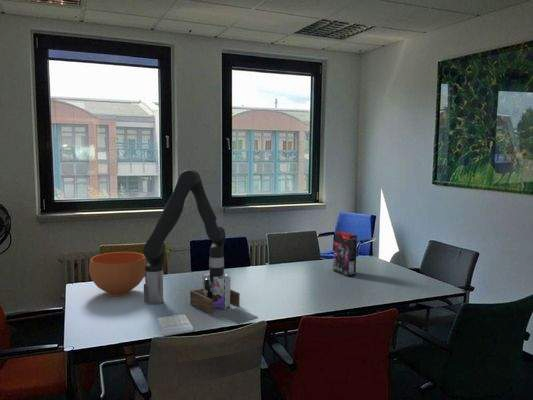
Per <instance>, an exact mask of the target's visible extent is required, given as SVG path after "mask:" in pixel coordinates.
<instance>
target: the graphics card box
mask: <svg viewBox="0 0 533 400" xmlns="http://www.w3.org/2000/svg"><path fill="white" fill-rule="evenodd" d="M333 238H334V239H333V240H334V241H333V242H334V243H333V266H332V267H333V268H332V271H333V272H336V273H338V274H341V275H343V276H345V277H353V276H356V271H357V267H356V266H357V249H358V248H357V246H358V245H357V244H358V235H357V234H353V233H349V232H345V231H335V232H334V237H333Z"/></svg>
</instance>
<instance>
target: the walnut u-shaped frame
mask: <svg viewBox="0 0 533 400" xmlns="http://www.w3.org/2000/svg"><path fill="white" fill-rule="evenodd" d="M189 294H190V302H189V304H190V305H192V306H193V307H195V308H198V309H200V310H202V311H203V312H206V313H208V314H210V315H211V314H213V307H212V299H210V298H207V297H205V296H203V287H201V288H197V289H193V290H190V293H189ZM240 296H241V295H240V292H238V291H236V290H234V289H231V288H230V305H231V304H232V305H233V306H236V307H240V306H241V304H240V300H241V299H240Z"/></svg>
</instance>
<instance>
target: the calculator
mask: <svg viewBox="0 0 533 400" xmlns="http://www.w3.org/2000/svg"><path fill="white" fill-rule="evenodd" d="M157 322H158V325H159V327H160V329H161V331H162V334H163V336H172V335H178V334H185V333H193V332H194V327H193V325H192V324H191V322H190V321H189V319H188V317H187V316H186V314H175V315H170V316H169V315H168V316H166V315H165V316H160V317H158V318H157Z"/></svg>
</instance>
